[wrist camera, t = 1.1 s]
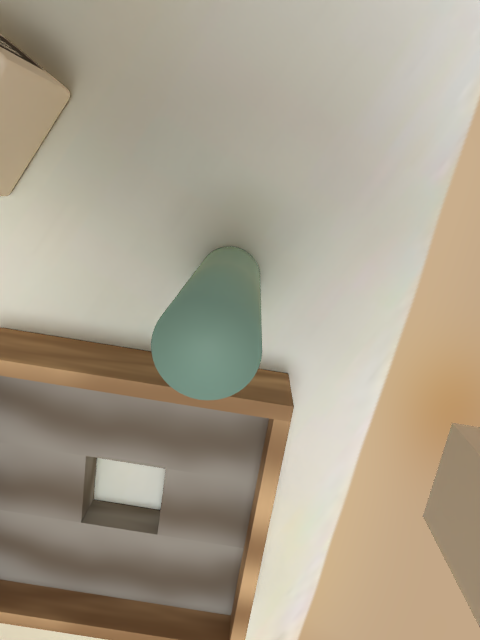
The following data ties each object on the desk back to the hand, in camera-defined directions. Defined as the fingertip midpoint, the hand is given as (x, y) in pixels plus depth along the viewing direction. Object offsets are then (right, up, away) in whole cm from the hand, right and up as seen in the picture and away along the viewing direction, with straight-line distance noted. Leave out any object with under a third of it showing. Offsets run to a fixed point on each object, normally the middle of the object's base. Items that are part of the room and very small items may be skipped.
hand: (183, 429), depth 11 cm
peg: (+1, +6, +18) cm, 19 cm away
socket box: (-7, -9, +23) cm, 25 cm away
